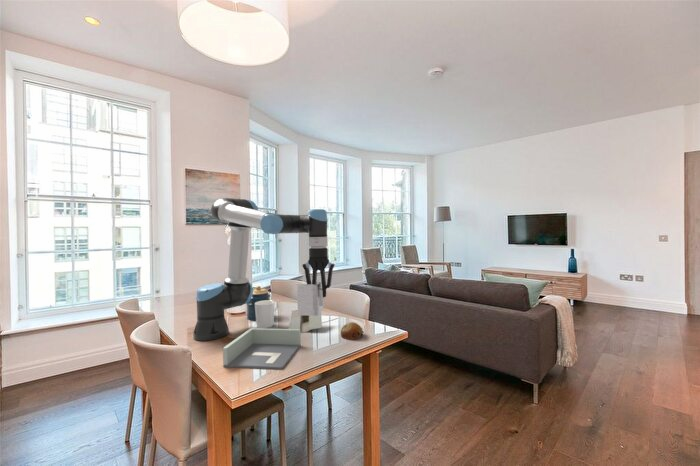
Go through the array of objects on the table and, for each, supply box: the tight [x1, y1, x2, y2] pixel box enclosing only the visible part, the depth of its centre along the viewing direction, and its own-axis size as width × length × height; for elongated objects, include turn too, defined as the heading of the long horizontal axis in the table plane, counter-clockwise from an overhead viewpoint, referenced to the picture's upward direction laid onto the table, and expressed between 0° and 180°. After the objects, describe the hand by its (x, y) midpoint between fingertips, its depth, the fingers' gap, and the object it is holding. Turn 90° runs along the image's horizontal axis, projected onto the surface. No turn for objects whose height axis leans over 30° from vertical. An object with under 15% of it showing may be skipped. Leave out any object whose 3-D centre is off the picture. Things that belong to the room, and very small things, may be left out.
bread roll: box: [340, 321, 365, 341], centre depth 138 cm, size 10×10×8 cm
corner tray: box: [222, 327, 302, 370], centre depth 119 cm, size 22×22×7 cm
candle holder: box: [255, 299, 275, 329], centre depth 155 cm, size 10×10×12 cm
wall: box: [288, 309, 323, 333], centre depth 152 cm, size 16×9×15 cm
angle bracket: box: [296, 279, 324, 316], centre depth 123 cm, size 10×8×12 cm
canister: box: [246, 285, 271, 321], centre depth 172 cm, size 13×13×18 cm
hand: (319, 304), depth 124 cm, fingers closed on angle bracket, 2 cm apart
